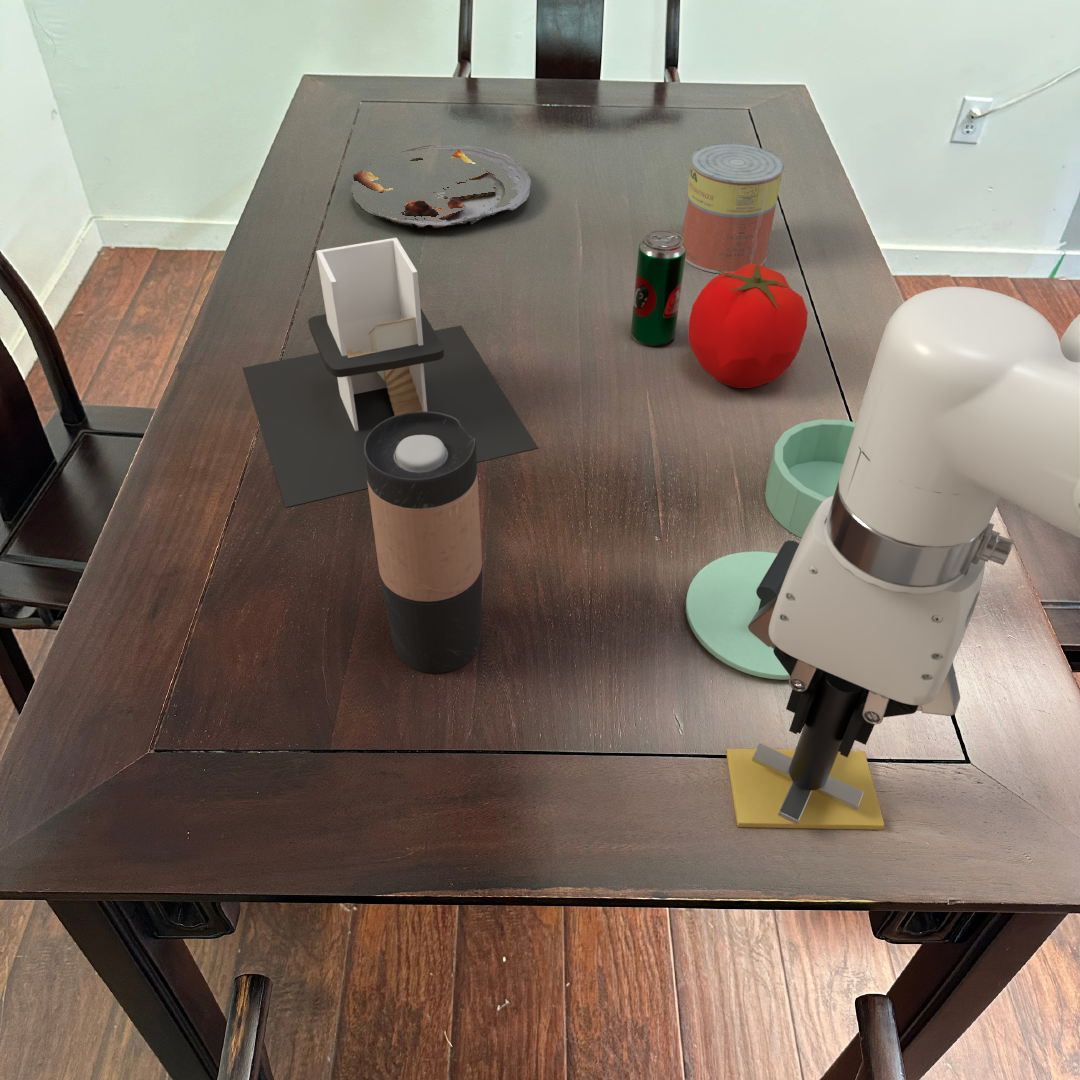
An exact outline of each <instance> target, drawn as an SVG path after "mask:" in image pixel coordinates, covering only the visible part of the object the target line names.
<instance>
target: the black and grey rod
mask: <svg viewBox="0 0 1080 1080" xmlns="http://www.w3.org/2000/svg"><path fill="white" fill-rule="evenodd" d="M864 689H865V688H863V687H861V686H859V685H856V684H854V683H852V682H849V681H847V680H845V679H842V678H840V677H838V676H835V675H833V674H831V673H828V672H826V671H823V674H822V677H821V679H820V682H819V685H818V689H817V692H816V694H815V697H814V700H813V703H812V706H811V709H810V711H809V714H808V717H807V720H806V723H805V725H804V727H803V729H802V731H801V733H800V736H799V739H798V742H797V745H796V747H795V749H794V750H795V753H794V756H793V758H790V757H788V756H786V755H784V754H782V753H780V752H778V751H775V750H773V748H771V747H769V746H767V745H766V744H763V743H759V744H758V746H757V748H756V749H757V750H756V752H755V754H754V756H753V758H752V761H753V762H755V763H757V764H759V765H761V766H763V767H765V768H768V769H770V770H772V771H774V772H776V773H778V774H780V775H782V776H784V777H786V778H789V779H791V780H793V782H792V784H791V786H790V789H789V791H788V793H787V795H786V797H785V799H784V802H783V804H782V806H781V808H780V810H779V813H778V816H780V817H782V818H784V819H786V820H789V821H791V822H793V823H795V824H798V822H799V820H800V818H801V815H802V813H803V811H804V809H805V806H806V804H807V802H808V800H809V797H810V795H811V793H812V791H813V790H814V791H816V792H818V793H820V794H822V795H824V796H826V797H829V798H831V799H833V800H835V801H837V802H839V803H841V804H843V805H845V806H847V807H850V808H852V809H854V810H857V809H858V807H859V804H860V802H861V799H862V797H863V794H864V792H863V791H861V790H859V789H857V788H855V787H853V786H850V785H848V784H846V783H844V782H842V781H840V780H838V779H835V778H833V777H831V776H829V774H830V772H831V769H832V767H833V764H834V762H835V759H836V757H837V754H838V752H839V751H838V749H839V746H840V744H841V741H842V739H843V737H844V734H845V732H846V729H847V727H848V724H849V722H850V719H851V717H852V715H853V712H854V710H855V708H856V705H857V704H858V703H859V701H860V698H861V696H862V693H863V691H864Z"/></svg>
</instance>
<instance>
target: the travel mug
mask: <svg viewBox="0 0 1080 1080" xmlns="http://www.w3.org/2000/svg"><path fill="white" fill-rule="evenodd" d="M364 460H365V467H366V475H367V482H368V488H367V489H368V497H369V504H370V505H369V506H370V511H371V513H370V514H371V519H372V520H371V521H372V527H373V535H374V536H373V537H374V543H375V549H376V557H377V564H378V572H379V578H380V583H381V588H382V593H383V598H384V603H385V609H386V615H387V619H388V625H389V629H390V635H391V640H392V644H393V645H392V646H393V649H394V651H395V653H396V655H397V657H398V658H399V660H400V661H401V662H403V663H404V664H405V665H406V666H408V668H411V669H413V670H415V671H418V672H421V673H427V674H443V673H449V672H452V671H455V670H457V669H460V668H461V667H464V666H465V665H467V664H468V663H469V662H470V661H472V659H473V658H474V657H475V656H476V654H477V653H478V651H479V649H480V647H481V643H482V635H483V554H482V550H483V549H482V533H481V516H480V515H481V514H480V513H481V512H480V498H479V495H480V493H479V478H478V462H477V456H476V439H475V438H472V437H471V436H470V435H469V434H468V433H467V431H466V430H465V429H464V428H463V427H462V425H461V424H460V422H459V421H458V420H457V419H456V418H455V417H453V416H450V415H447V414H443V413H438V412H430V411H417V412H408V413H404V414H400V415H396V416H394V417H391V418H389V419H387V420H385V421H383V422H381V423H380V424H378V425H377V426H376V427H375V428H374V429H373V430H372V431H371V432H370V433H369V435H368V436H367V438H366V440H365V444H364Z"/></svg>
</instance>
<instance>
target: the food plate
mask: <svg viewBox="0 0 1080 1080" xmlns="http://www.w3.org/2000/svg"><path fill="white" fill-rule="evenodd" d="M426 148H427V149H430V150H433V149H435V150H442V151H443V150H446V151H447V150H448V151H452V150H453V151H457V152H455V153H454V154H453V155H452V157H451V158H460V159H462V160H463V161H464V162H465V163H472V164H476V163H475V162H472V160H471V159H469V158H468V157H467V156H465V153H466V154H470V155H474V156H479V157H480V158H484V159H487V160H489V161H493V162H494V163H496V164H498V165H501V166H502V170H508V171H510V172H508V174H507V176H508V177H507V178H509V179H513V180H512V181H514V182H513V183H516V184H517V185H516V186H515V187H512V189H511V190H514V189H516V190H518V192H517V193H518V195H517V196H516V197H515V198H514V199H511V200H510V202H509V203H511V204H508V205H506V206H504V207H499V208H496V207H495V205H497V204H498V203H500V202H501V201H502V199H503V197H504V195H505V188H504V185H503V183H502V182H501V181H500V180H498V179H496V177H494V176H495V175H494V174H492V173H490V172H488V170H486V169H485V170H486V172H488V173H485V174H483V175H481V176H478V177H474V178H472V179H471V178H469V180H481V179H490V178H491V179H492V183H494V185H495V186H496V187H493V188H494V189H495V192H488V193H481V194H473V195H467V196H461V197H452V198H450V201H449V202H448V203H447V204H448V207H449V208H450V209H453V208H462V207H463V206H464V205H465V206H466V208H465V209H464V210H461V211H458V212H456V213H452V214H449V215H446V216H443V217H441V218H439V219H440V220H441V222H433V221H432V220H426V219H425V218H424V220H418V219H416V218H415V219H407V218H405V219H404V220H403V219H397V218H392V217H388V216H387V217H388V218H387V217H385V216H384V215H383V216H382V215H381V216H382V217H384V218H385V219H384V218H383V219H384V220H388V221H389V220H391V221H393V222H392V223H394V222H396V223H398V224H397V225H403V226H410V227H412V226H413V227H414V225H415V227H416V226H418V227H417V228H420V227H422V228H424V227H426V226H432V228H436V229H438V228H443V227H446V226H455V225H466V224H467V222H469V223H470V225H473V224H474V223H477V222H478V221H481V220H482V219H483V218H482V217H484V218H487V217H491V216H490V215H492V216H494V215H495V214H497V213H499V212H504V211H505V210H506V211H507V210H508V211H514V210H516V209H517V208H519V207H520V206H521V205H523V204H524V202H526V201H528V198H529V197H530V192H531V183H532V179H531V176H530V175H529V173H528V169H526V168H525V167H524V166H523V165H522V164H521V163H519V162H518V161H516V160H515V159H513V158H512V157H510V156H509V155H507V154H504V153H499V152H497V151H494V150H491V149H488V148H483V147H479V146H470V145H459V144H458V145H455V144H454V145H435V144H434V145H433V146H432V145H423V146H418V147H413V148H410V149H406V150H402V151H400V152H396V153H395V154H397V153H402V152H406V151H415V150H422V149H424V150H426ZM411 159H412V160H410V161H418V160H423V158H421V157H419V158H411ZM478 166H479V165H478ZM499 168H500V167H499ZM483 169H484V168H483ZM493 175H494V176H493ZM352 177H353V178H352V180H353V179H354V181H358V182H359V183H361V184H362V185H364V186H366V187H367V188H369V189H371V190H374V191H380V192H378V193H383V192H384V191H385V190H386V191H391V190H393V188H389V189H384V188H383V187H382V186H381V185H380V184H378V183H372V182H371V181H374V180H378V179H379V178H378V177H375V176H374V175H373V174H372V173H371V172H367V171H365V172H364V171H362V170H359V171H357V172H356V173H353V174H352ZM466 181H467V180H466ZM455 183H457V182H455ZM460 183H466V182H459V183H457V184H460ZM511 183H512V182H511ZM447 188H449V187H447ZM453 188H454V187H453ZM443 189H444V188H443ZM451 189H452V188H451ZM444 190H447V189H444ZM433 193H436V194H438V195H440V194H445V192H433ZM435 196H436V195H435ZM440 196H441V197H438V198H442V199H447V200H448V197H446V196H443V195H440ZM438 198H437V199H438ZM404 207H405V211H404V212H405V214H404V212H401V213H402V215H405V216H414V217H416V216H421V217H422V216H431V217H436V216H437V215H439V214H438V212H437V211H436V210H435V209H432V206H430V205H428V203H426V202H425V201H424V200H422V201H421V200H418V201H411V202H409V203H406V206H404ZM434 208H436V207H434ZM490 208H491V210H490ZM436 209H439V210H445V209H442V208H436ZM492 211H493V212H492ZM372 213H373V212H372ZM391 213H392V212H391ZM395 213H398V212H395ZM401 213H399V214H401ZM373 214H375V215H378V216H379V214H380V213H379V214H376V213H373ZM486 216H487V217H486ZM382 217H381V218H382ZM464 217H467V218H469V219H467V220H465V219H463V218H464ZM481 218H482V219H481ZM477 219H479V220H477ZM391 221H390V222H391ZM422 221H423V222H422ZM460 222H463V223H460ZM396 223H395V224H396Z"/></svg>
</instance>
